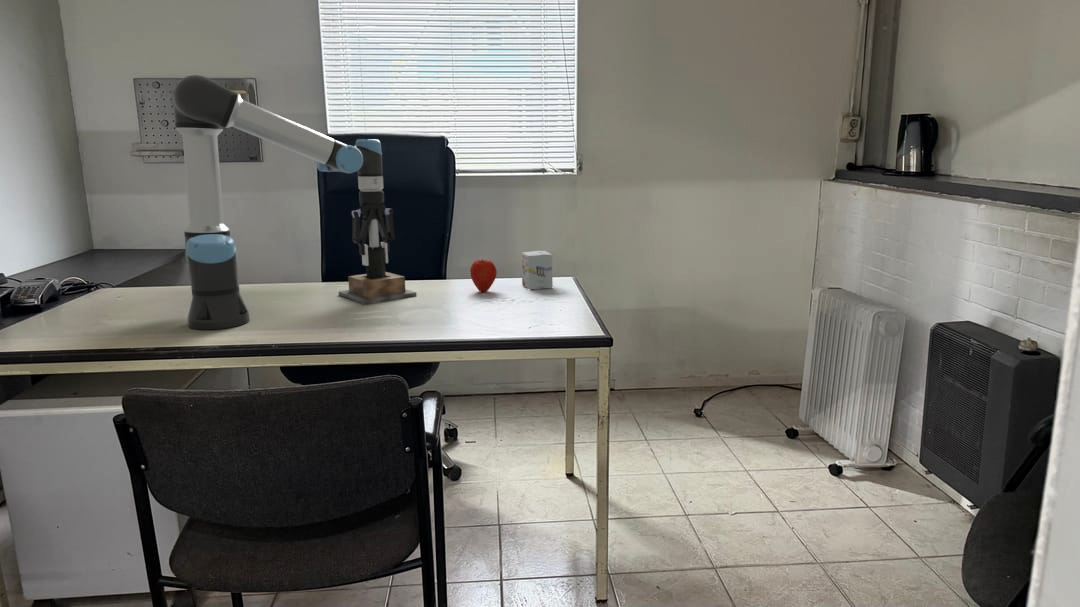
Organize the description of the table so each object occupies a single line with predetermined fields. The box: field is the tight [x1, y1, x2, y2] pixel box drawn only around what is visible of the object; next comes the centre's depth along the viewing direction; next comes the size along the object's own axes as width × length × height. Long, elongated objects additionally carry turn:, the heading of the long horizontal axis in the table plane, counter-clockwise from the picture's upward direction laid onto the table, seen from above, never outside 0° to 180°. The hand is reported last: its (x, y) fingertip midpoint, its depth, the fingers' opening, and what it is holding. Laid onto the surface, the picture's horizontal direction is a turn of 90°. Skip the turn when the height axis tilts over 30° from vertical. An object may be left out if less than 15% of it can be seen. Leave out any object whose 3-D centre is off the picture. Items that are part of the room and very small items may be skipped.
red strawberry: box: [469, 258, 498, 293], centre depth 223 cm, size 9×8×11 cm
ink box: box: [521, 250, 554, 290], centre depth 230 cm, size 9×9×12 cm
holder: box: [338, 271, 418, 305], centre depth 219 cm, size 18×18×6 cm
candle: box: [365, 219, 386, 279], centre depth 216 cm, size 5×5×25 cm
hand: (375, 263), depth 217 cm, fingers closed on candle, 6 cm apart
